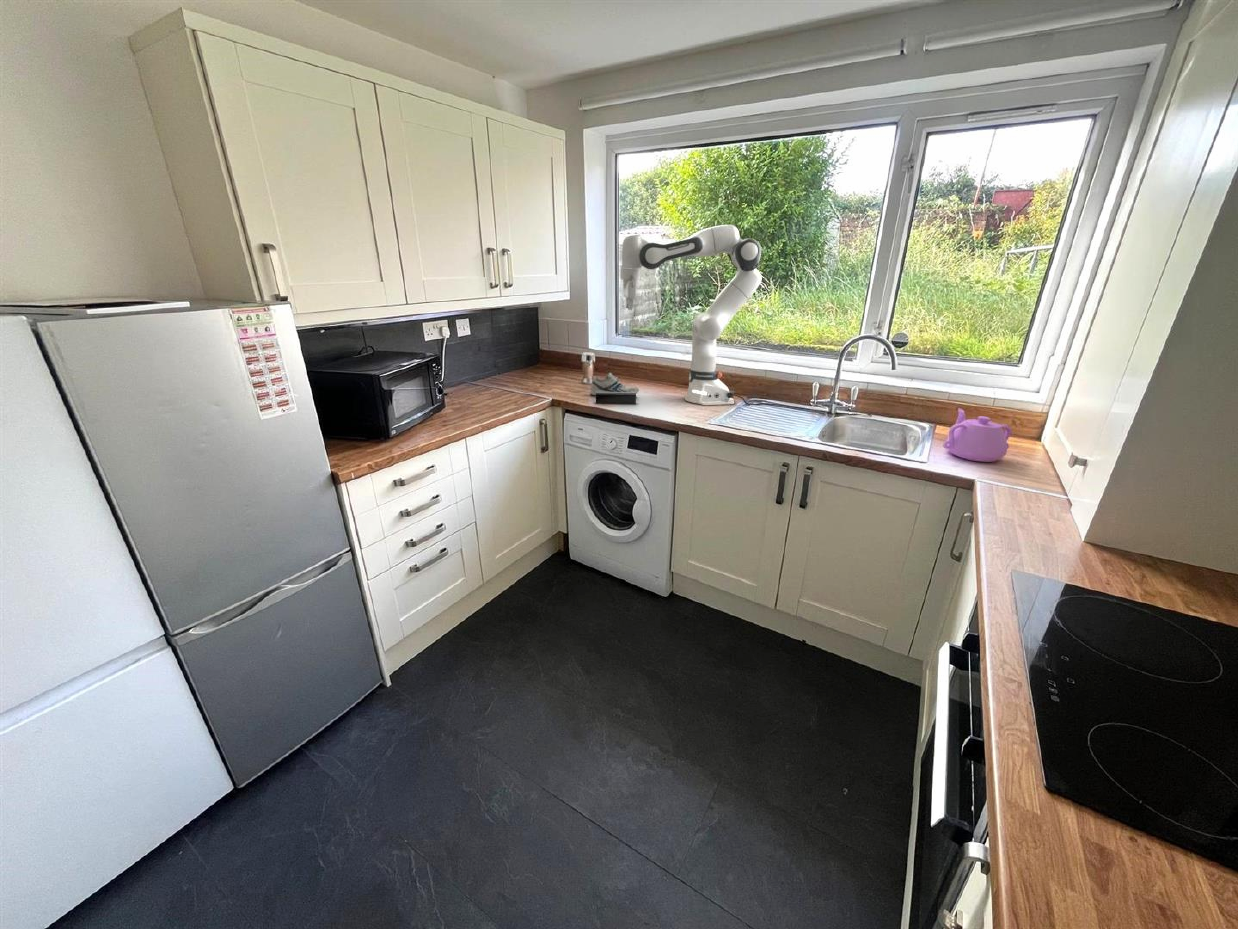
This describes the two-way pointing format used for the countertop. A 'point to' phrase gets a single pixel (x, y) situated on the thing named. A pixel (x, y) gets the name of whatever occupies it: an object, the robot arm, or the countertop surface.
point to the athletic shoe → (610, 385)
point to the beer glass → (588, 367)
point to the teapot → (977, 439)
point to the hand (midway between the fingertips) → (629, 308)
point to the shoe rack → (615, 397)
